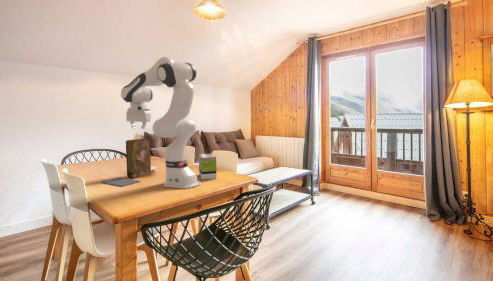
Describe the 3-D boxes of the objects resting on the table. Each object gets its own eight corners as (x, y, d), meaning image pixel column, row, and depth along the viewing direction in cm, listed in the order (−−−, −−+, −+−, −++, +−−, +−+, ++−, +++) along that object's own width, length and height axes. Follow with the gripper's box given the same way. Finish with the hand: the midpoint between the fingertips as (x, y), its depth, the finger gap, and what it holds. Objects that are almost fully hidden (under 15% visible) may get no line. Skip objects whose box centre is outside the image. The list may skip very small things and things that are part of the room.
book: (146, 173, 185) (145, 138, 183) (152, 173, 183) (151, 138, 180) (127, 178, 170) (125, 140, 168) (133, 178, 168) (131, 140, 166)
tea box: (198, 174, 180) (198, 153, 178) (212, 174, 183) (212, 153, 181) (201, 179, 165) (201, 157, 164) (216, 178, 168) (216, 156, 167)
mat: (140, 181, 160) (140, 180, 160) (121, 186, 149) (121, 185, 149) (119, 178, 170) (119, 177, 170) (100, 182, 158) (100, 181, 158)
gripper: (123, 107, 174) (124, 128, 176) (144, 107, 165) (144, 129, 166) (131, 108, 180) (132, 127, 181) (152, 107, 170) (152, 128, 171)
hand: (138, 128), depth 173 cm, fingers open, 8 cm apart
